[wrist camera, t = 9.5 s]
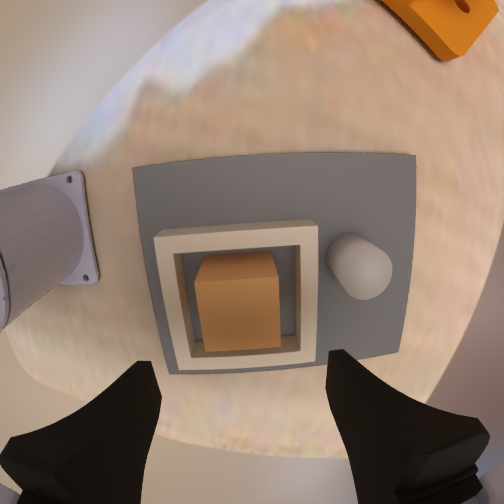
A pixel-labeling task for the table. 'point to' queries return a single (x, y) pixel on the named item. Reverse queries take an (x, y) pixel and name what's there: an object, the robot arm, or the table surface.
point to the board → (283, 250)
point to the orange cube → (239, 301)
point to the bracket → (446, 22)
